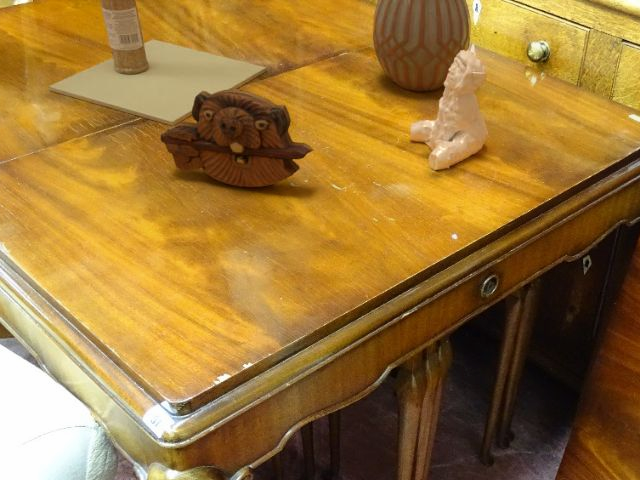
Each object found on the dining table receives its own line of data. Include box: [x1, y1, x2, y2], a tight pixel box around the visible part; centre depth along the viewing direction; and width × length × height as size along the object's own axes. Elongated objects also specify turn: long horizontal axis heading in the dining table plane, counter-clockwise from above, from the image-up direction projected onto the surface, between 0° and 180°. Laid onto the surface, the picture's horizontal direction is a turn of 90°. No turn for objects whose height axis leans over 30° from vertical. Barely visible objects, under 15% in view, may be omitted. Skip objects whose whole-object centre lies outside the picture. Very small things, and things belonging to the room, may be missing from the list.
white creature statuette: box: [409, 49, 490, 171], centre depth 89 cm, size 10×9×12 cm
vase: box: [372, 0, 472, 92], centre depth 102 cm, size 13×13×18 cm
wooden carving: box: [160, 88, 314, 188], centre depth 82 cm, size 16×5×10 cm, turn 82°
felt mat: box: [48, 39, 268, 127], centre depth 104 cm, size 20×20×1 cm
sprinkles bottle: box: [100, 0, 149, 74], centre depth 101 cm, size 5×5×13 cm
